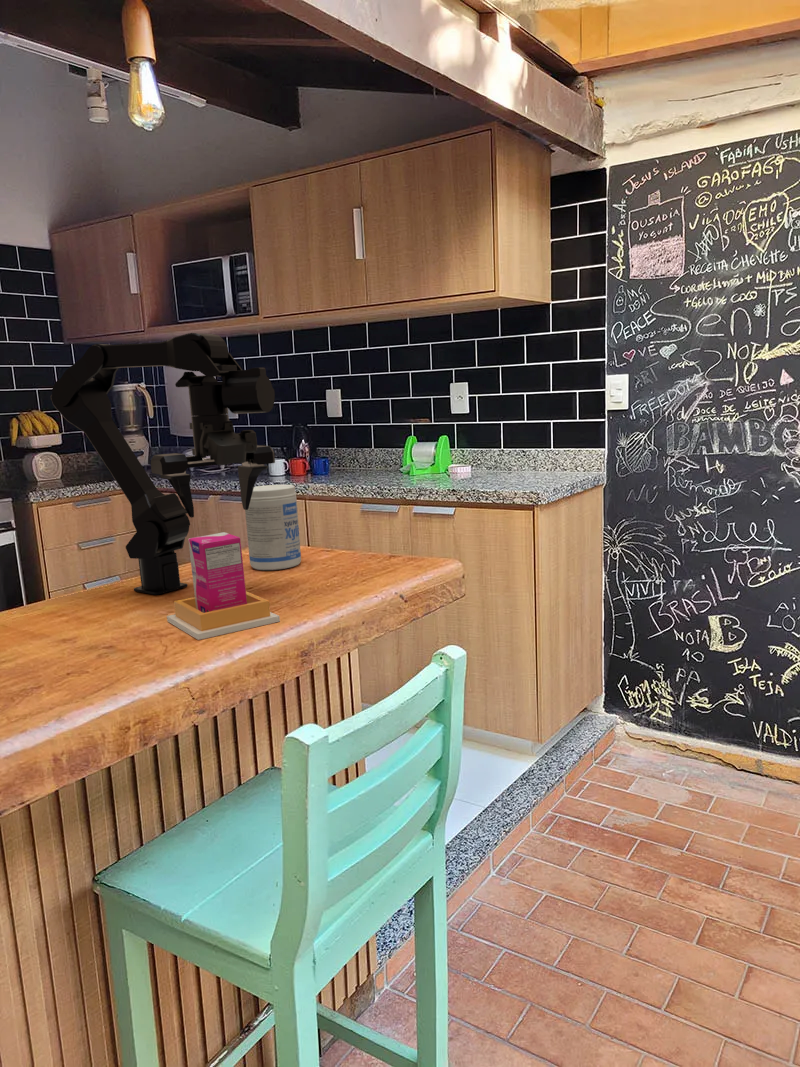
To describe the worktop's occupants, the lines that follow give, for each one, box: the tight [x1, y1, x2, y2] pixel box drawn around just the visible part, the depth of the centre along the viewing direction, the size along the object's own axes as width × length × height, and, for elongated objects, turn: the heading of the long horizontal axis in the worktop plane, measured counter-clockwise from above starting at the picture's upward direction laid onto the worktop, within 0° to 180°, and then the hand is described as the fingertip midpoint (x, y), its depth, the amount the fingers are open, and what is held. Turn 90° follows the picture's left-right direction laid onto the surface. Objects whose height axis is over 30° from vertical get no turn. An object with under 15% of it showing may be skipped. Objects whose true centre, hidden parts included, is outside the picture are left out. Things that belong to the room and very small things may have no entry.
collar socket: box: [166, 590, 281, 641], centre depth 115 cm, size 12×12×3 cm
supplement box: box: [188, 531, 247, 613], centre depth 114 cm, size 6×6×12 cm
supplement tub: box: [244, 484, 302, 571], centre depth 150 cm, size 10×10×15 cm
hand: (219, 513), depth 130 cm, fingers open, 9 cm apart
